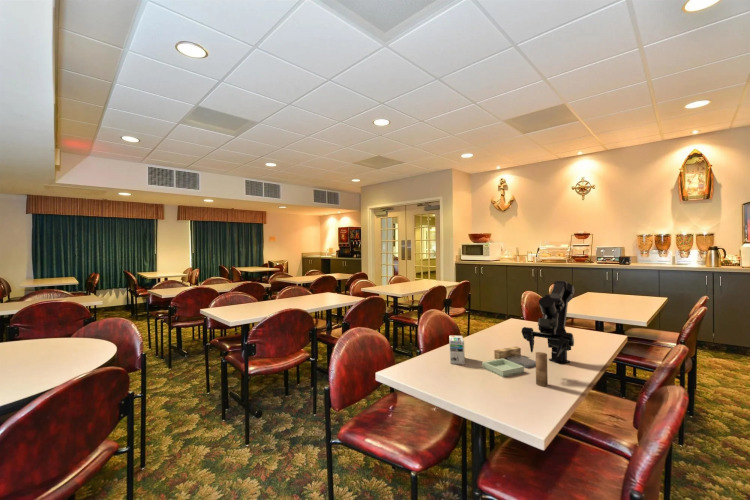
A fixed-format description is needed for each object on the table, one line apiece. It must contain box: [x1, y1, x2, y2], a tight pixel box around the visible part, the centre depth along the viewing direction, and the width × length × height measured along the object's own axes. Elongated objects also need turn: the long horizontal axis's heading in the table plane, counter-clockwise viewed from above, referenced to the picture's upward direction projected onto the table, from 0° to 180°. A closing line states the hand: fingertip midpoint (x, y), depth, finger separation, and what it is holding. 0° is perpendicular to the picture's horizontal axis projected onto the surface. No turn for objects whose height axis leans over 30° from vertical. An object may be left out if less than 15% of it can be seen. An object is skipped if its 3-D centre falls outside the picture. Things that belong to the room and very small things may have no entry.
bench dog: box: [493, 346, 522, 360], centre depth 159 cm, size 14×3×4 cm, turn 114°
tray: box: [482, 358, 525, 378], centre depth 143 cm, size 12×12×2 cm
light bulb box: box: [448, 334, 466, 365], centre depth 156 cm, size 11×7×11 cm, turn 168°
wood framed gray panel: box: [505, 355, 536, 369], centre depth 152 cm, size 8×12×2 cm, turn 24°
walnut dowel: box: [535, 351, 549, 388], centre depth 127 cm, size 4×4×12 cm
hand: (543, 354), depth 130 cm, fingers open, 9 cm apart
